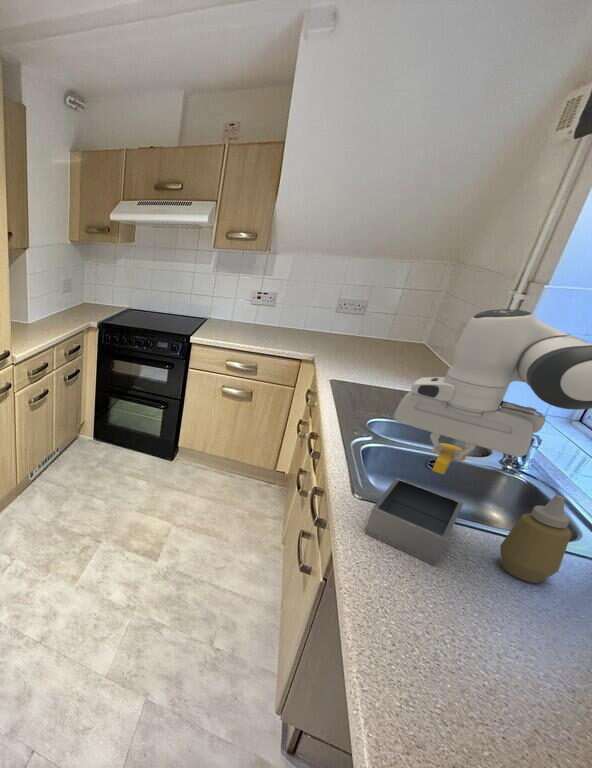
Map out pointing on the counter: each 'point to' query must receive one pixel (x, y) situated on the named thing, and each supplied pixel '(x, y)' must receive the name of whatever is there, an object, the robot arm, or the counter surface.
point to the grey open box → (414, 520)
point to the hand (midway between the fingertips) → (446, 456)
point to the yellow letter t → (445, 458)
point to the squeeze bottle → (537, 542)
